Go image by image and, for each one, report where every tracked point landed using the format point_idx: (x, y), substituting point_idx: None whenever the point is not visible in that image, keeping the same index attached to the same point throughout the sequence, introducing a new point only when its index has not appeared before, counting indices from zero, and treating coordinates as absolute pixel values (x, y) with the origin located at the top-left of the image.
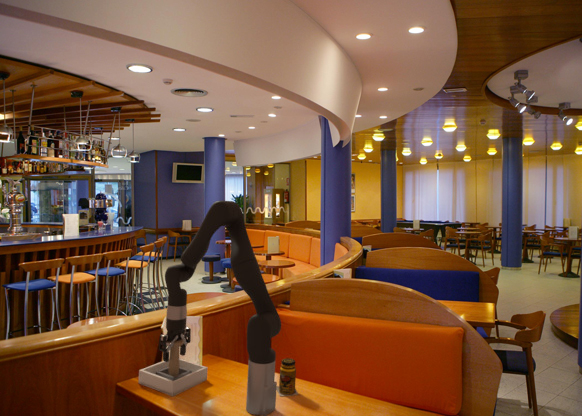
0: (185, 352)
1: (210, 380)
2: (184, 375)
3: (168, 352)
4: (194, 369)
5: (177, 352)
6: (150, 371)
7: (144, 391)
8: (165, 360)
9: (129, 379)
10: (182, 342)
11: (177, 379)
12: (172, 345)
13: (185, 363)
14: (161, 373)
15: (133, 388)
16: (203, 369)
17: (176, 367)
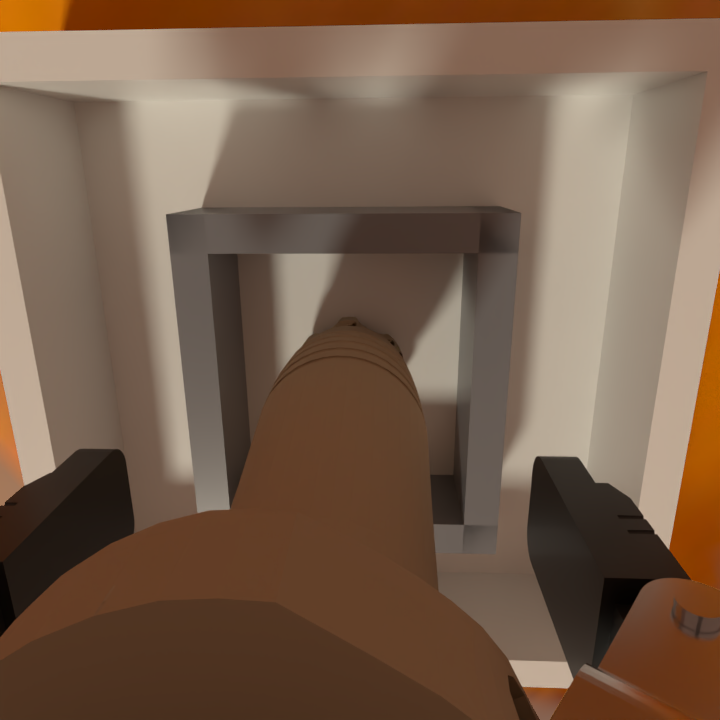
0: (37, 482)
1: (27, 21)
2: (317, 212)
3: (637, 573)
4: (64, 276)
5: (334, 480)
6: (481, 618)
7: (704, 411)
8: (613, 491)
9: (565, 690)
10: (151, 576)
11: (625, 61)
12: (605, 700)
13: (69, 453)
14: (495, 466)
15: (701, 537)
16: (35, 31)
17: (363, 355)
